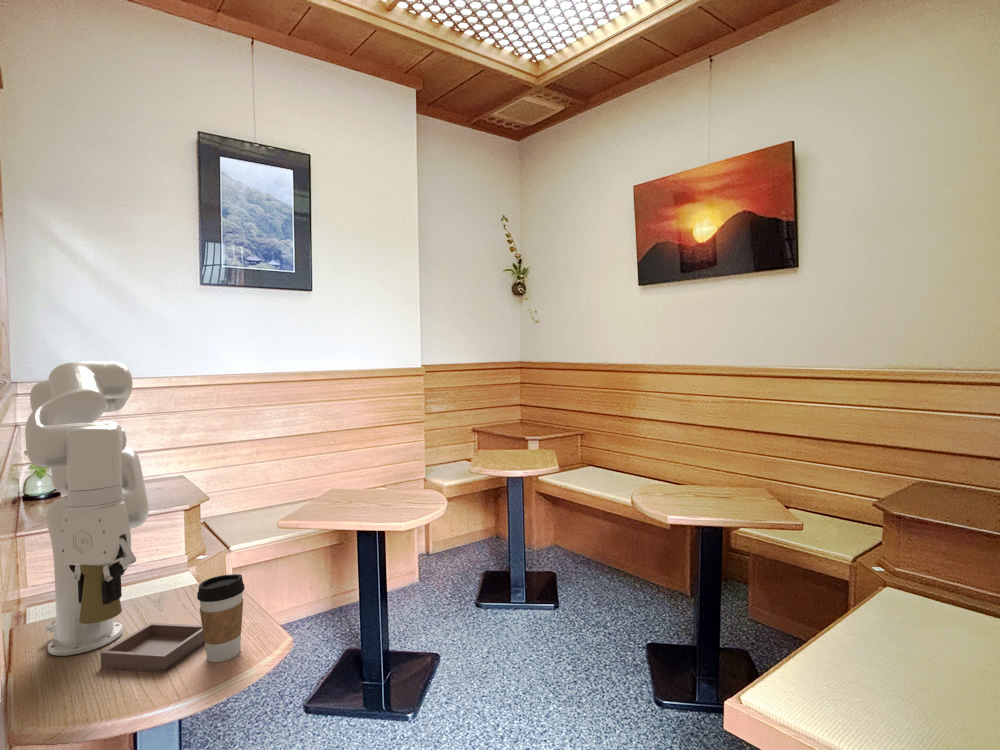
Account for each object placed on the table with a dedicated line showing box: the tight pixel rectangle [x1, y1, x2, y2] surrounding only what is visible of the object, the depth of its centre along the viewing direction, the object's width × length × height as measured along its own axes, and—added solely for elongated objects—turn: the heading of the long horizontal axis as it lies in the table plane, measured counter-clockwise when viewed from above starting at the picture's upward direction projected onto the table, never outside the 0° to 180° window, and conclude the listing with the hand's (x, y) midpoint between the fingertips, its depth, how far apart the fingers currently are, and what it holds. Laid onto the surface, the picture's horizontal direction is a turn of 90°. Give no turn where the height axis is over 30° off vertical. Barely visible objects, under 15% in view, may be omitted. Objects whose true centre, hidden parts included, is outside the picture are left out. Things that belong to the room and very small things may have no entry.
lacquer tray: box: [100, 622, 205, 673], centre depth 106 cm, size 14×12×3 cm
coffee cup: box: [196, 573, 245, 663], centre depth 105 cm, size 8×8×15 cm
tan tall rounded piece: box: [79, 563, 123, 624], centre depth 92 cm, size 6×6×11 cm
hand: (100, 599), depth 92 cm, fingers closed on tan tall rounded piece, 4 cm apart
